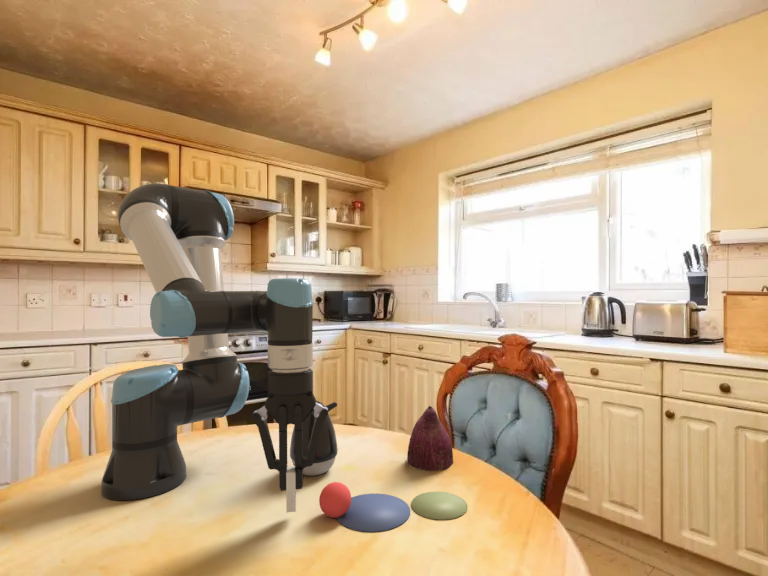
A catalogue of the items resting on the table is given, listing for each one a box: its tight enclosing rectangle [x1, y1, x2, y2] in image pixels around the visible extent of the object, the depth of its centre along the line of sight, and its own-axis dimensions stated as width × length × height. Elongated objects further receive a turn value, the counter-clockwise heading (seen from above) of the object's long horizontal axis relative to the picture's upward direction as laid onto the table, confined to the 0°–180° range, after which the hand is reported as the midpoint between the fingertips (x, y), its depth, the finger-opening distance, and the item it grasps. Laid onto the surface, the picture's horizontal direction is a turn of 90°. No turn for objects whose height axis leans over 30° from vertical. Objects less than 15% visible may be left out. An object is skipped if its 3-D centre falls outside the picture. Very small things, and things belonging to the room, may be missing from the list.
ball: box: [318, 481, 352, 519], centre depth 74 cm, size 6×6×6 cm
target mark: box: [336, 493, 411, 533], centre depth 75 cm, size 13×13×1 cm
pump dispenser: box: [289, 400, 338, 477], centre depth 93 cm, size 10×10×15 cm
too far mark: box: [410, 491, 468, 521], centre depth 77 cm, size 10×10×1 cm
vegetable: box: [406, 405, 454, 472], centre depth 96 cm, size 10×10×15 cm
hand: (291, 508), depth 73 cm, fingers closed
